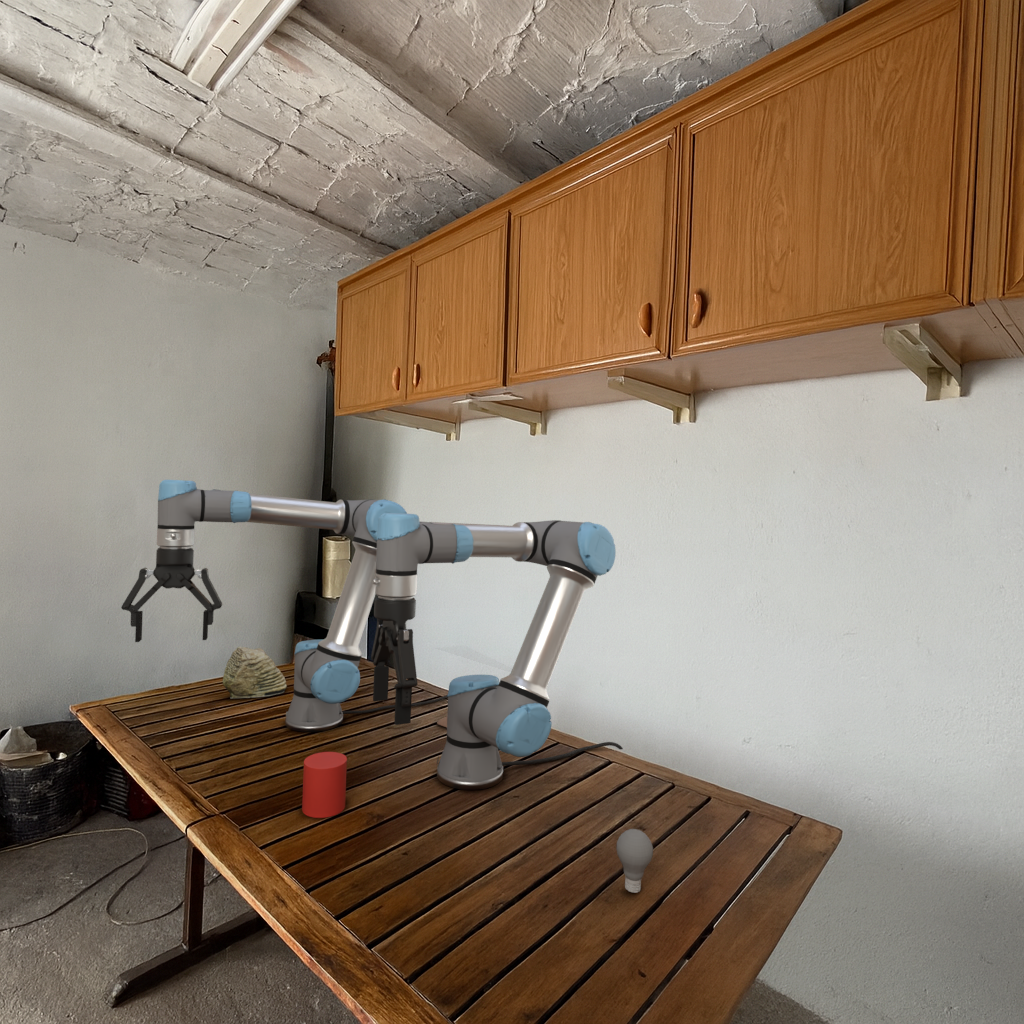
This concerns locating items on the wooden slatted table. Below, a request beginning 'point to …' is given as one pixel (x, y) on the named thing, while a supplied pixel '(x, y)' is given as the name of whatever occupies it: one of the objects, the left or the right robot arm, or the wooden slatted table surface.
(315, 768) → the can
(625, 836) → the light bulb
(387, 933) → the wooden slatted table surface
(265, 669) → the fossil
